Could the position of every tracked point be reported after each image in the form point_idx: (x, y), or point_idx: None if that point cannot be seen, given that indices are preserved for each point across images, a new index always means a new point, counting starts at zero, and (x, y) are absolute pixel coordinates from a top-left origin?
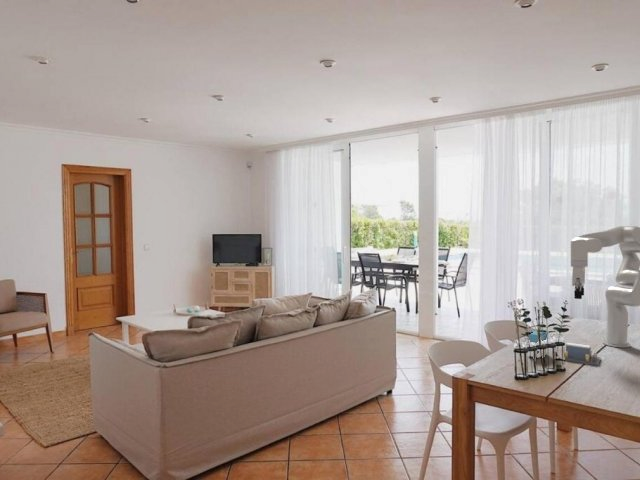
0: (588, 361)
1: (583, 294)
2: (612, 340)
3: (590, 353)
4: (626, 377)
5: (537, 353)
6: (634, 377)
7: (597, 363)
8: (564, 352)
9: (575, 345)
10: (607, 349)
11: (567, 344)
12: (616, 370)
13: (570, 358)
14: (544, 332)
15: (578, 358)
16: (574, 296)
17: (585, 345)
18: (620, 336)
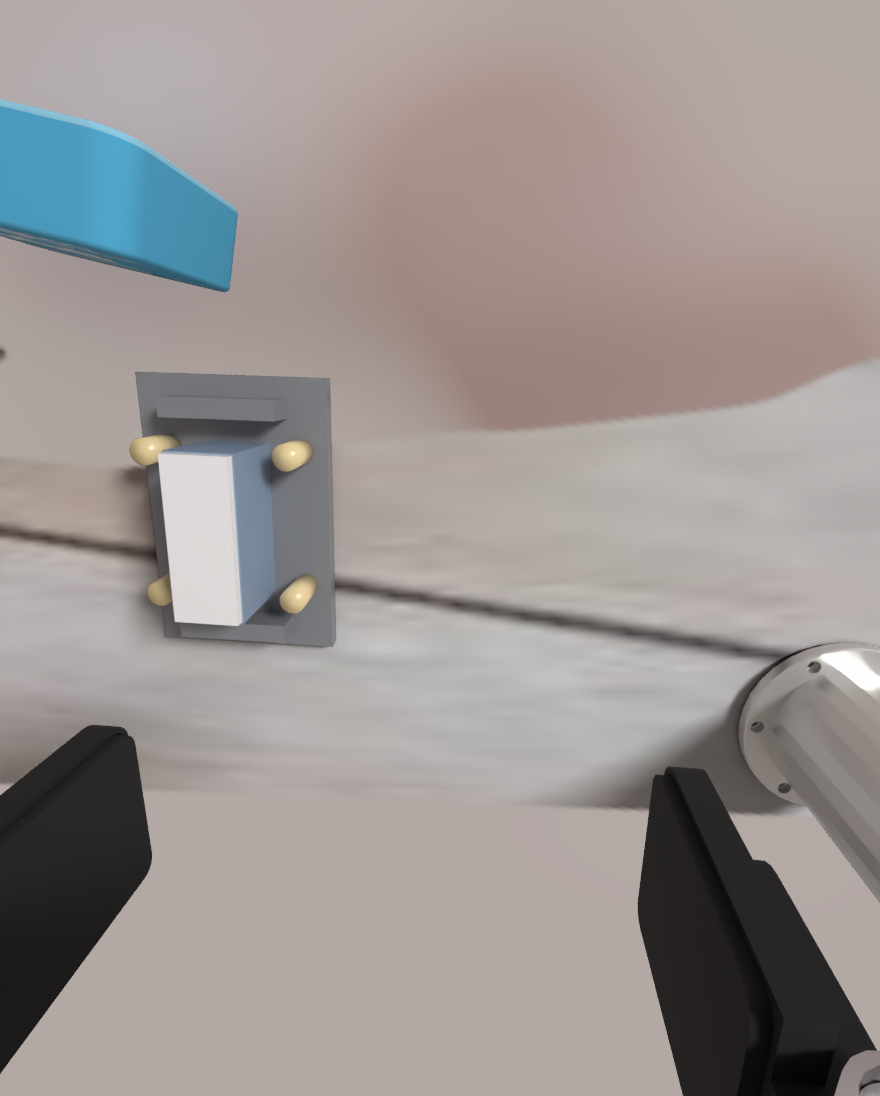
0: None
1: (644, 935)
2: (791, 723)
3: (262, 603)
4: None
5: (13, 239)
6: None
7: (172, 634)
8: (137, 439)
9: (166, 524)
10: (645, 671)
11: (159, 462)
12: (154, 717)
13: None
14: (25, 232)
15: None
16: (53, 753)
17: (220, 593)
18: (804, 798)
